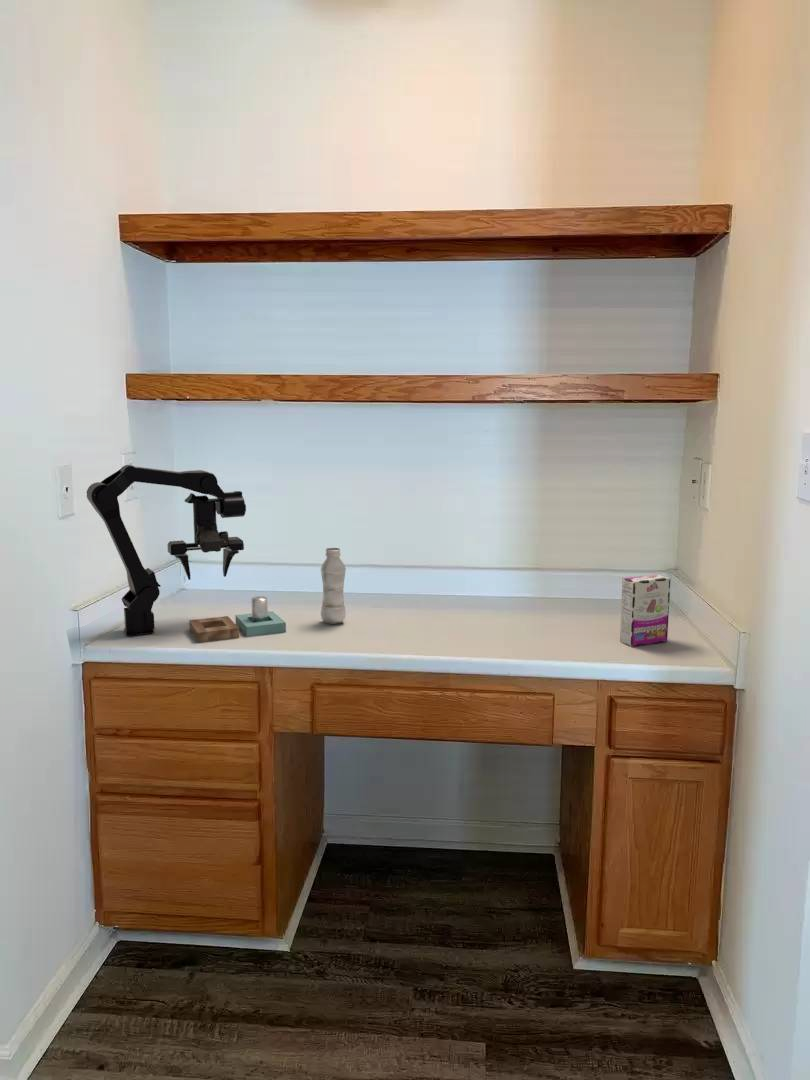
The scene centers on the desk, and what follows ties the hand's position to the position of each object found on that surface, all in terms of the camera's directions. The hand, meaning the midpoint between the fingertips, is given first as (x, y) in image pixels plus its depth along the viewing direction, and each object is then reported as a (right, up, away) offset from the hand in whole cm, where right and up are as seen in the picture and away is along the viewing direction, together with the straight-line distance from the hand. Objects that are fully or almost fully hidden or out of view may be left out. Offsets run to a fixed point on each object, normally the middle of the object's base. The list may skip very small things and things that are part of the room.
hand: (207, 578), depth 207 cm
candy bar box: (+111, -16, -12) cm, 113 cm away
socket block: (+4, -14, -8) cm, 16 cm away
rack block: (+15, -13, -3) cm, 20 cm away
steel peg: (+15, -13, -3) cm, 20 cm away
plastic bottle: (+33, -12, +3) cm, 35 cm away
